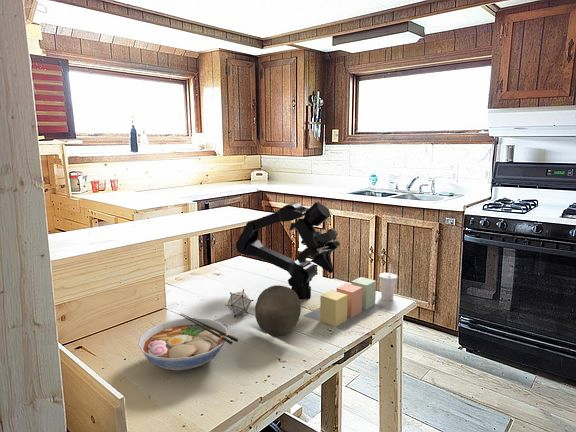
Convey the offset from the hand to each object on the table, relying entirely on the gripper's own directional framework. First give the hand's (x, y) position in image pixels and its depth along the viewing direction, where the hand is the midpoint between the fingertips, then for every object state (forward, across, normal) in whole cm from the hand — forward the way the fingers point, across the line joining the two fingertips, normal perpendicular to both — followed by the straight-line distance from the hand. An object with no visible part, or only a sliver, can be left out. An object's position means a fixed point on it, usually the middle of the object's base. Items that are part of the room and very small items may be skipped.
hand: (332, 272), depth 142 cm
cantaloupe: (+9, -25, +12) cm, 29 cm away
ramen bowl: (+4, -52, +20) cm, 55 cm away
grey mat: (+14, 0, +4) cm, 14 cm away
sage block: (+14, +8, +2) cm, 16 cm away
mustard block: (+14, -9, +3) cm, 17 cm away
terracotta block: (+14, 0, +2) cm, 14 cm away
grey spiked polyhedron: (-4, -22, +26) cm, 34 cm away
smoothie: (+17, +19, -1) cm, 25 cm away
